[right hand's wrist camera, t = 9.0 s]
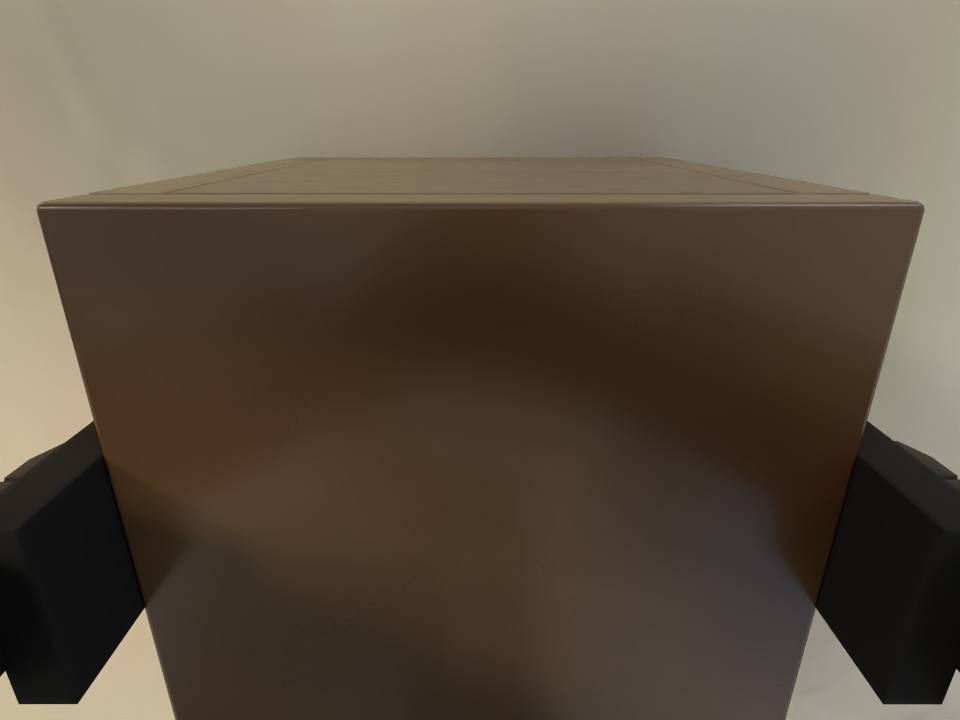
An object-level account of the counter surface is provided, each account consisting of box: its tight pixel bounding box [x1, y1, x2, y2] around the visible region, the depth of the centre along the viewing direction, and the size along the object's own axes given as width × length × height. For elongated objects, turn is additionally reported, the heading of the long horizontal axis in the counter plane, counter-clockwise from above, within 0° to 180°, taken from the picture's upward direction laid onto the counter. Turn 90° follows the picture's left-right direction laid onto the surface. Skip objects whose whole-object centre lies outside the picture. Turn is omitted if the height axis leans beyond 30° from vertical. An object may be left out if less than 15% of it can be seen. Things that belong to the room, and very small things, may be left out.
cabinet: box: [37, 158, 924, 720], centre depth 15 cm, size 20×10×10 cm, turn 0°
